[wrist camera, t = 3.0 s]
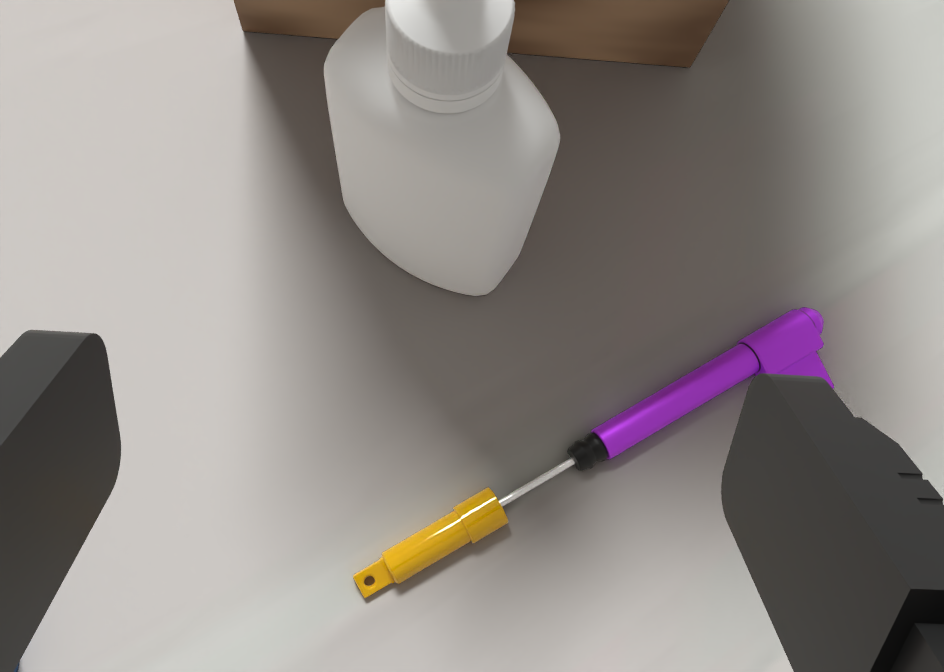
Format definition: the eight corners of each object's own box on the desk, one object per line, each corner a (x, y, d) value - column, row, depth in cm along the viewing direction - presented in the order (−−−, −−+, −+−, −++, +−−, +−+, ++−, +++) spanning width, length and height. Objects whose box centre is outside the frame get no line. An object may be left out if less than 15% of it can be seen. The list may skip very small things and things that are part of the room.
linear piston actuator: (797, 302, 26) (347, 563, 22) (819, 298, 24) (349, 573, 21) (835, 377, 26) (392, 646, 23) (859, 376, 24) (396, 661, 21)
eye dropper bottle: (454, 128, 26) (495, -215, 14) (534, 277, 25) (648, 33, 13) (329, 179, 25) (267, -143, 14) (406, 335, 24) (409, 128, 12)
